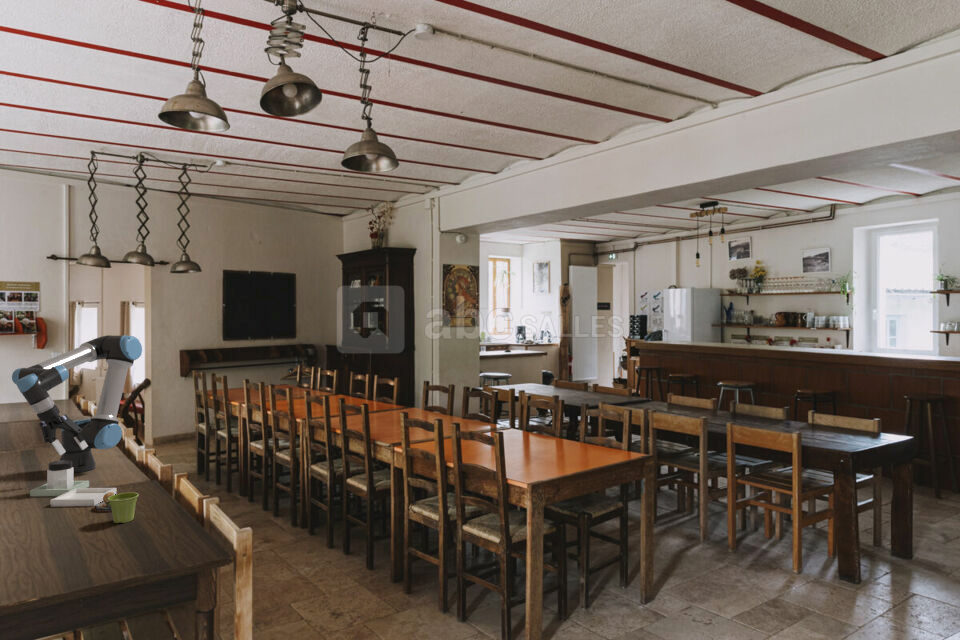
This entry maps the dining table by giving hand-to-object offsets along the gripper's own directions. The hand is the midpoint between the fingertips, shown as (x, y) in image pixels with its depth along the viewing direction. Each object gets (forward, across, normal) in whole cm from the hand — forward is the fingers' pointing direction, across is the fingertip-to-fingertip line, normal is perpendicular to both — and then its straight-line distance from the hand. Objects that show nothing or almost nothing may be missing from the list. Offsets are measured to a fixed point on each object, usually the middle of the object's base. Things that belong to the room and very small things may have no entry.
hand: (73, 450), depth 265 cm
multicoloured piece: (+16, +38, -26) cm, 49 cm away
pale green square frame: (+10, 0, -14) cm, 18 cm away
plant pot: (+16, +55, -37) cm, 68 cm away
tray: (+12, +20, -21) cm, 32 cm away
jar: (+10, 0, -14) cm, 18 cm away
